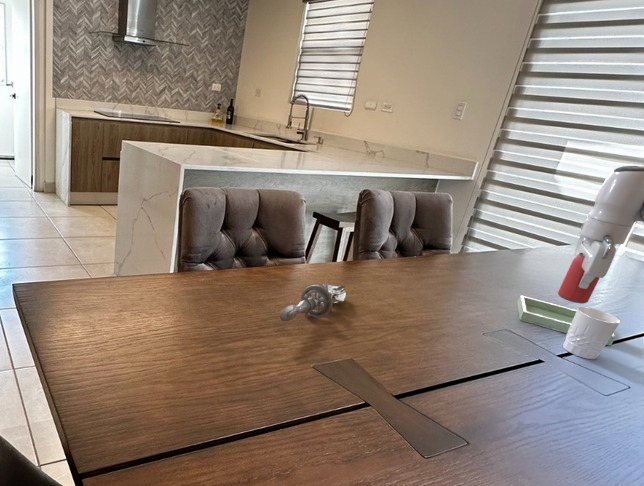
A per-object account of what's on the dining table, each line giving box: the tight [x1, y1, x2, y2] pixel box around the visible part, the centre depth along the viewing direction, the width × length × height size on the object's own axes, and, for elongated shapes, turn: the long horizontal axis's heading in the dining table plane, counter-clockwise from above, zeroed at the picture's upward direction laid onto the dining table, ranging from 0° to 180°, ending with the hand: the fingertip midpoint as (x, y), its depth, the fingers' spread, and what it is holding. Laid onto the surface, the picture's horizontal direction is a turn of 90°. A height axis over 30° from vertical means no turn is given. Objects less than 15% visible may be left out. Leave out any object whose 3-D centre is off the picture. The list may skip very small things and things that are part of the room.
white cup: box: [562, 306, 621, 360], centre depth 110 cm, size 8×8×10 cm
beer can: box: [557, 253, 600, 305], centre depth 121 cm, size 7×7×12 cm
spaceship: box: [279, 282, 347, 322], centre depth 111 cm, size 8×35×8 cm
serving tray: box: [516, 294, 616, 347], centre depth 126 cm, size 20×14×3 cm
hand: (579, 282), depth 122 cm, fingers closed on beer can, 6 cm apart
